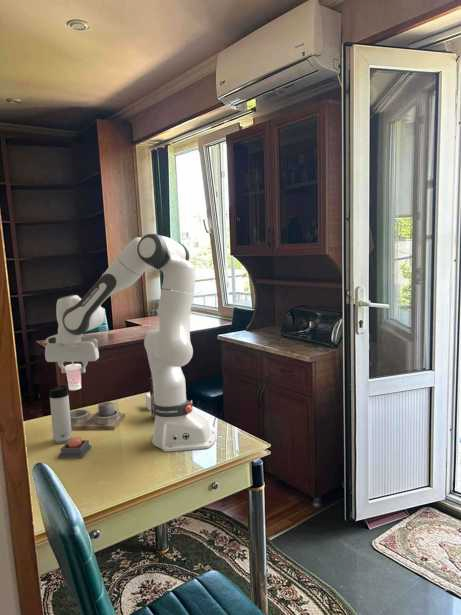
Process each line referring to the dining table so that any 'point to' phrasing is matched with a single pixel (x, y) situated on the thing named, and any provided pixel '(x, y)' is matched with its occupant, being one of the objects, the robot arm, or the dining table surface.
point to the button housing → (75, 450)
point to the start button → (74, 442)
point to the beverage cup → (73, 376)
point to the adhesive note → (148, 401)
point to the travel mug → (60, 414)
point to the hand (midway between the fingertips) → (73, 372)
